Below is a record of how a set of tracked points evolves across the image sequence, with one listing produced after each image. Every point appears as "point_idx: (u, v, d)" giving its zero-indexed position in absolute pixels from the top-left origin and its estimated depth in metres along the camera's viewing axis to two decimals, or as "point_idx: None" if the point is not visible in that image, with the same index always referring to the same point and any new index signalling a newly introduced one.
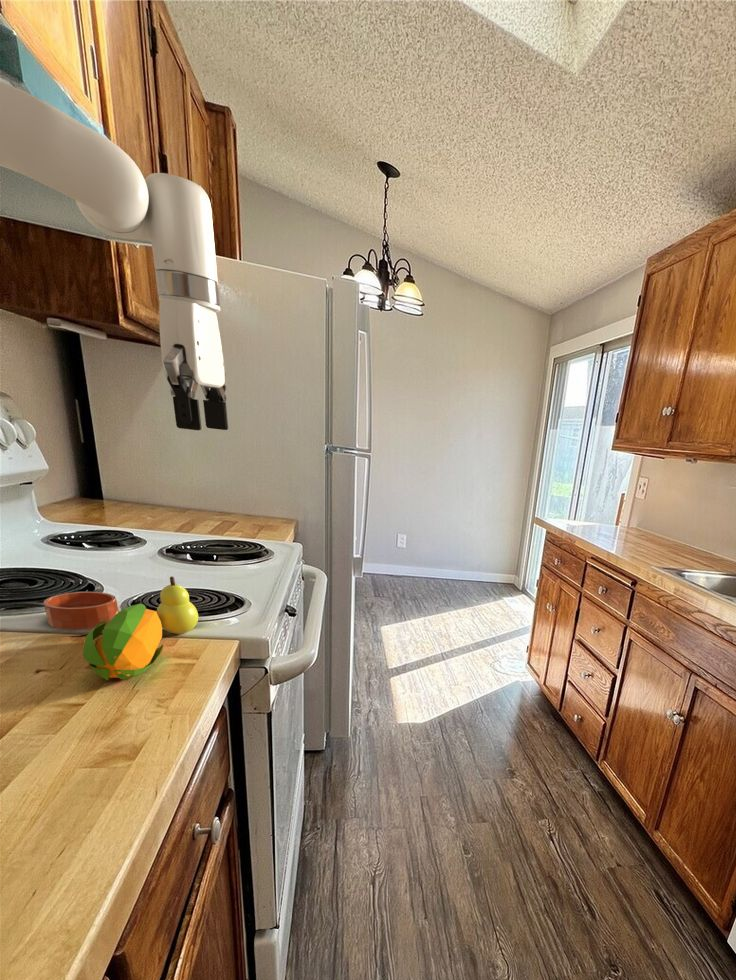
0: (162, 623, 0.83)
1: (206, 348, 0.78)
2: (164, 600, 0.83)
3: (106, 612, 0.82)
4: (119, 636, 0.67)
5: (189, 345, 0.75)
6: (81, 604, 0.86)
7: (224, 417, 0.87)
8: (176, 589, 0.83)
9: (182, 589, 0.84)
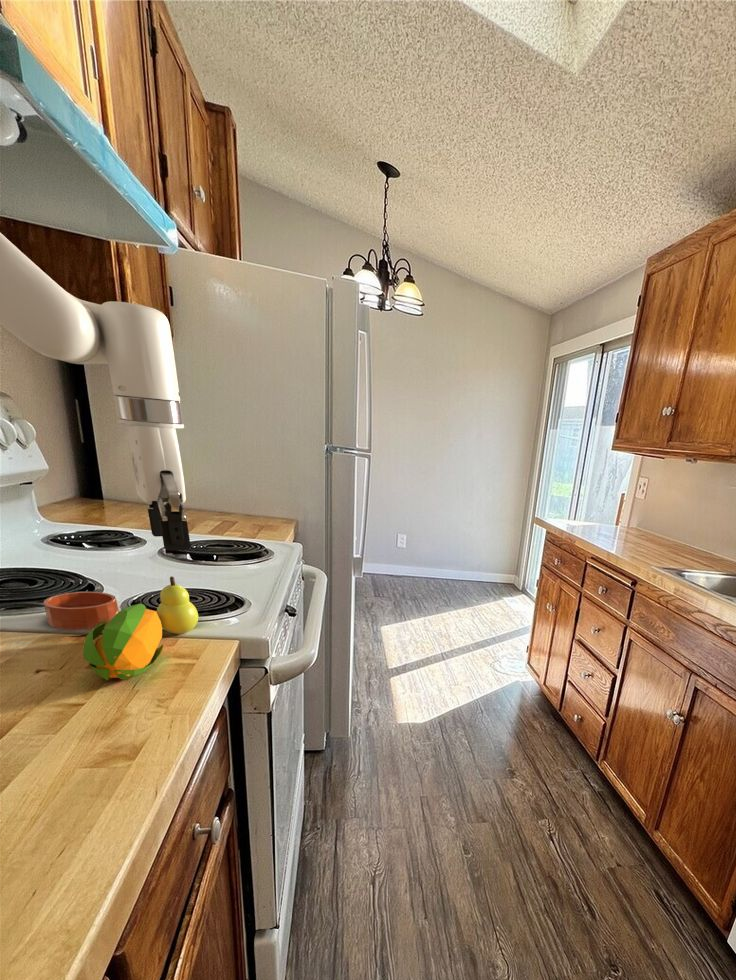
0: (162, 623, 0.83)
1: None
2: (164, 600, 0.83)
3: (106, 612, 0.82)
4: (119, 636, 0.67)
5: (177, 470, 0.74)
6: (81, 604, 0.86)
7: None
8: (176, 589, 0.83)
9: (182, 589, 0.84)
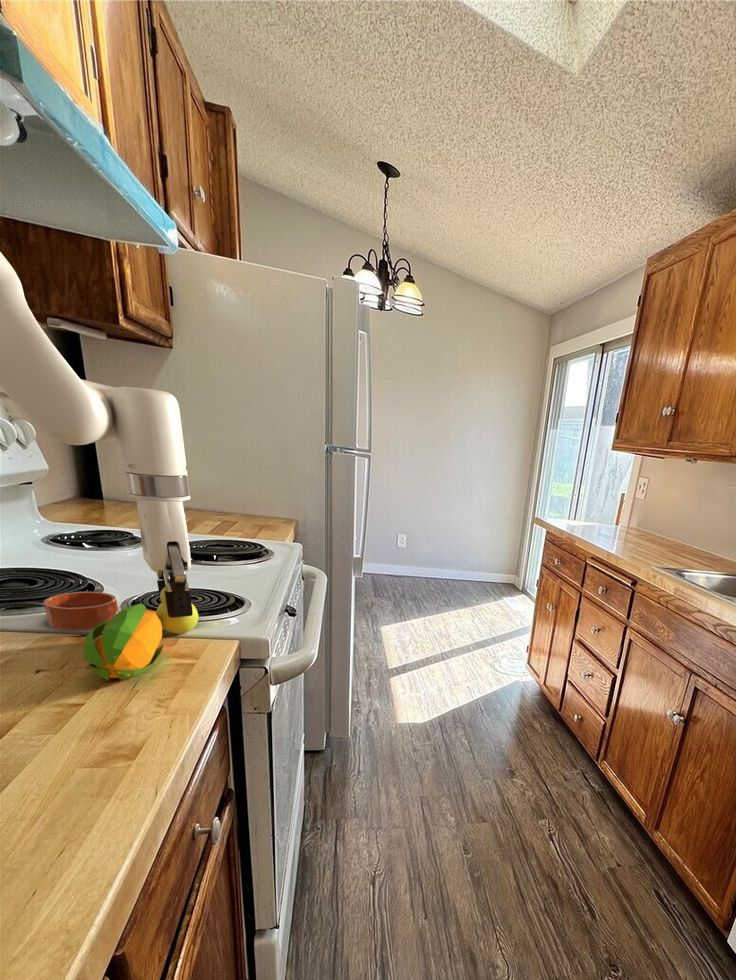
0: (162, 623, 0.83)
1: None
2: (164, 600, 0.83)
3: (106, 612, 0.82)
4: (119, 636, 0.67)
5: (183, 540, 0.78)
6: (81, 604, 0.86)
7: None
8: None
9: None
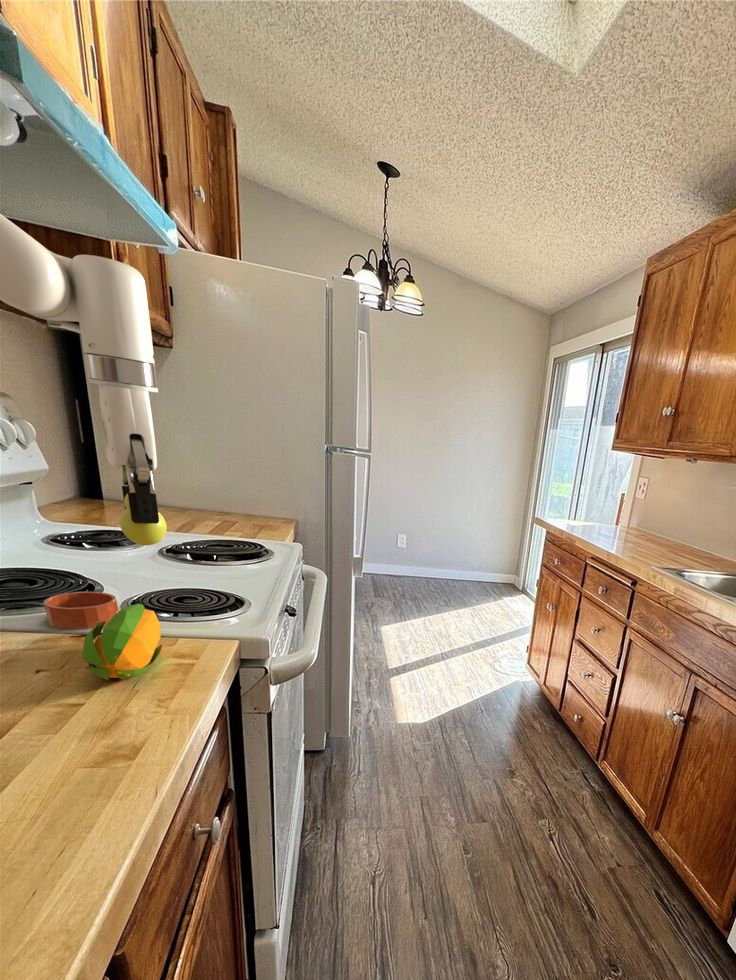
0: (126, 530, 0.77)
1: None
2: (128, 505, 0.77)
3: (106, 612, 0.82)
4: (119, 636, 0.67)
5: (148, 434, 0.72)
6: (81, 604, 0.86)
7: None
8: None
9: None
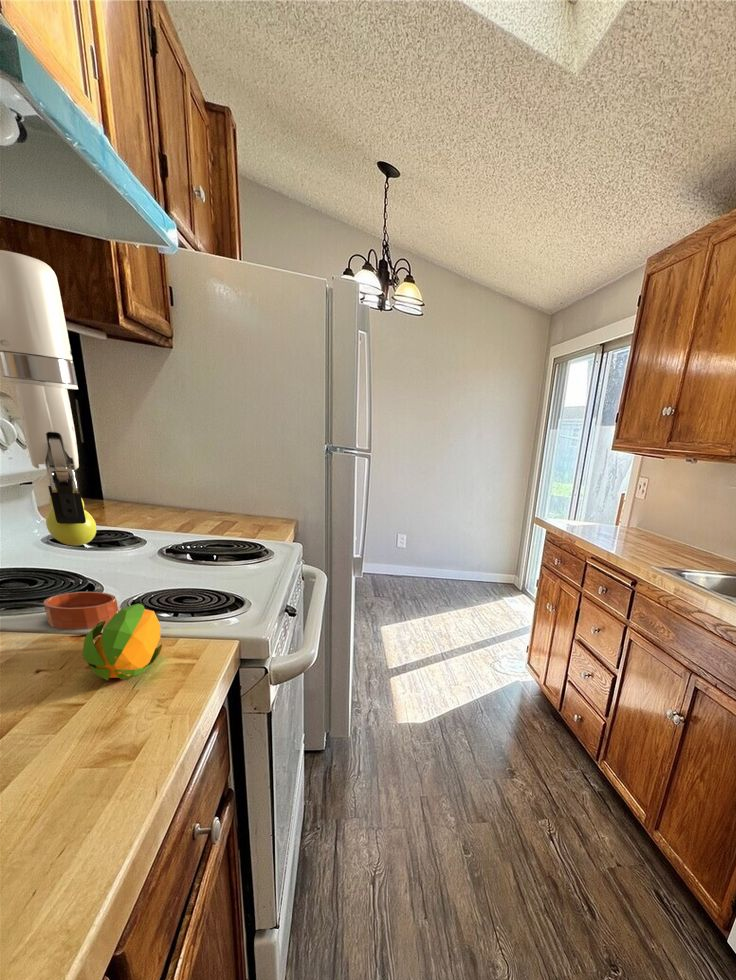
0: (52, 531, 0.76)
1: (74, 431, 0.73)
2: None
3: (106, 612, 0.82)
4: (119, 636, 0.67)
5: (66, 432, 0.70)
6: (81, 604, 0.86)
7: None
8: None
9: None
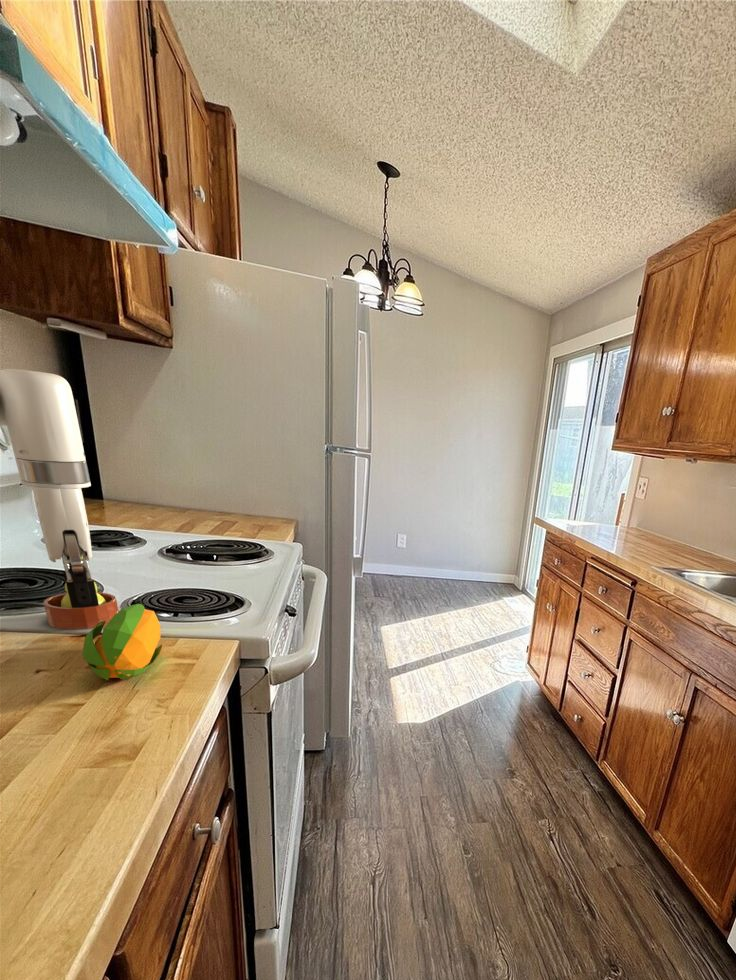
0: None
1: None
2: None
3: (106, 612, 0.82)
4: (119, 636, 0.67)
5: (80, 529, 0.75)
6: None
7: None
8: None
9: None
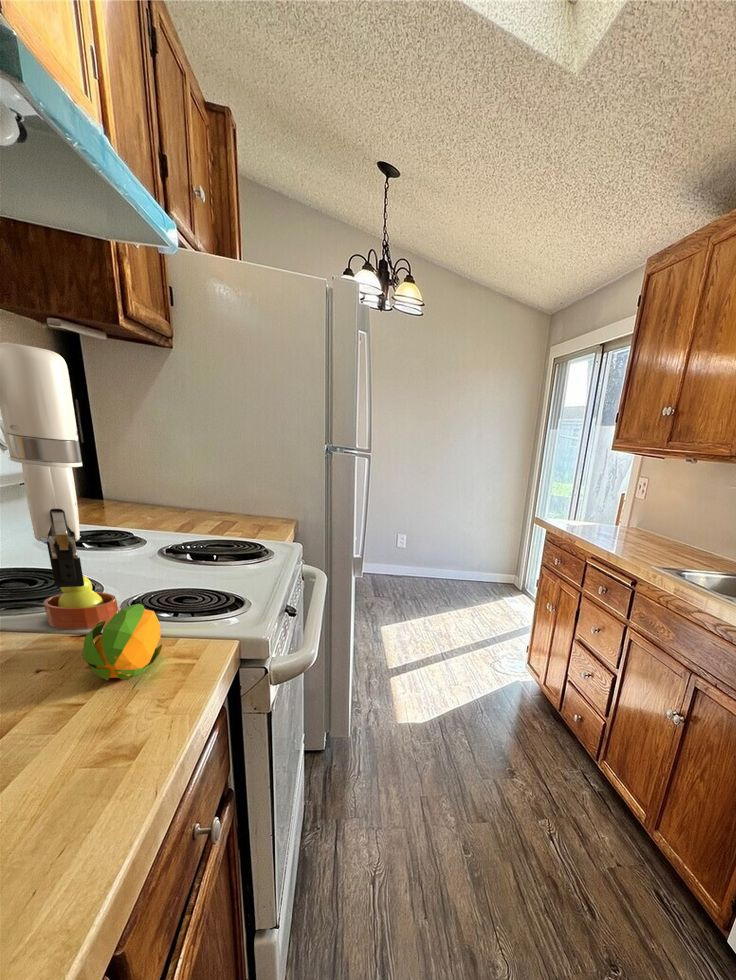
0: None
1: (77, 505, 0.77)
2: (63, 588, 0.81)
3: (106, 612, 0.82)
4: (119, 636, 0.67)
5: (69, 509, 0.74)
6: None
7: None
8: None
9: None
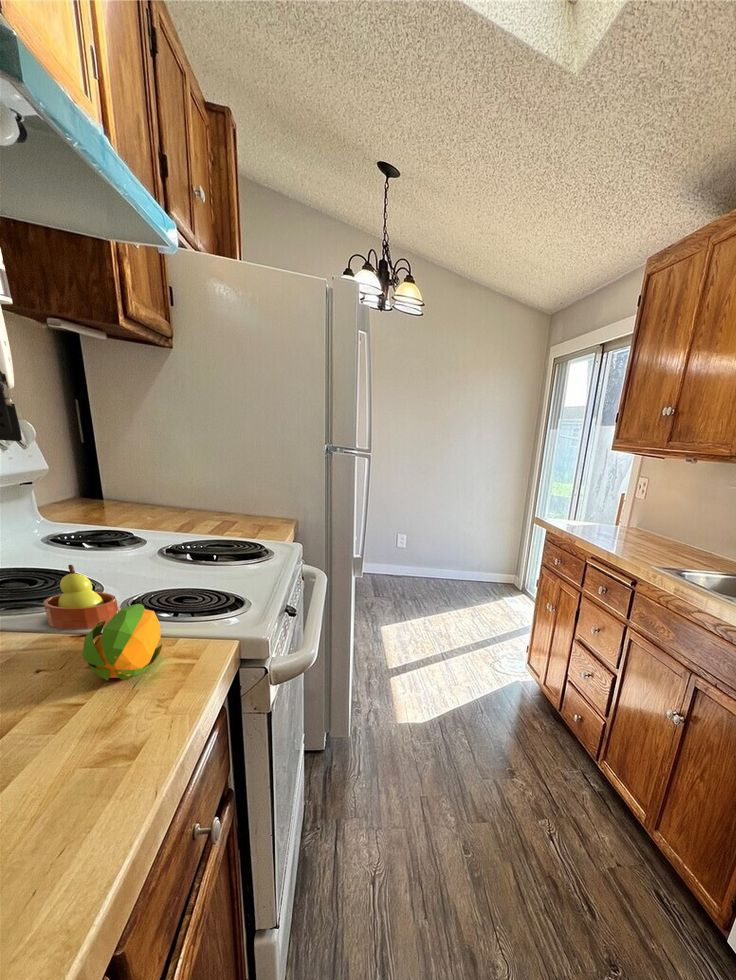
0: None
1: (8, 347, 0.69)
2: (63, 588, 0.81)
3: (106, 612, 0.82)
4: (119, 636, 0.67)
5: None
6: None
7: None
8: (74, 575, 0.81)
9: (82, 576, 0.82)
